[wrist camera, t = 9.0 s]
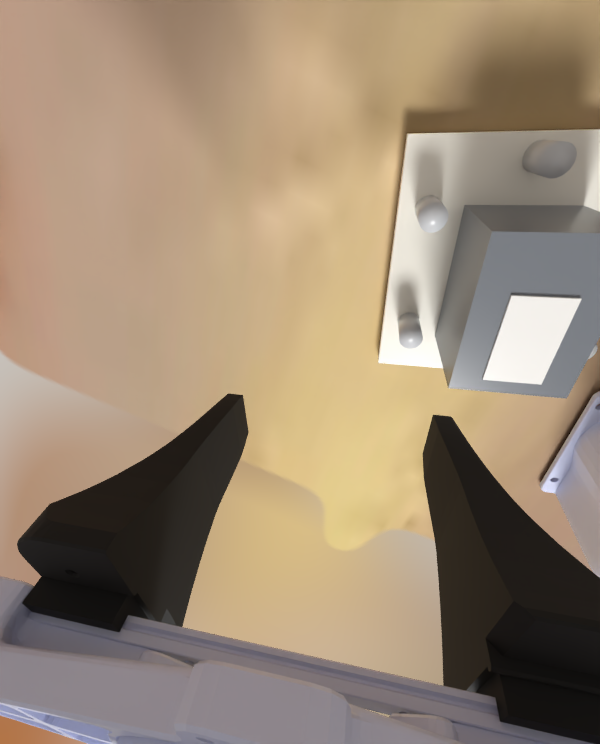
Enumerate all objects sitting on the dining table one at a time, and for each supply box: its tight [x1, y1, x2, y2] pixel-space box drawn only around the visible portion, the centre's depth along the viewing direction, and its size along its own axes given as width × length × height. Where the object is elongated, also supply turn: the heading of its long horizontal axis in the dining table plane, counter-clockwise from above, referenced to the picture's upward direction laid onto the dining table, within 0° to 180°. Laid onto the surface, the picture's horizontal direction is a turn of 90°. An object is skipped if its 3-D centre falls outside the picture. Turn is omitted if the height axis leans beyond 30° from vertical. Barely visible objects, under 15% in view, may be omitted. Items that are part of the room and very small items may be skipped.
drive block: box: [435, 205, 600, 398], centre depth 16 cm, size 7×5×5 cm
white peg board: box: [378, 129, 600, 368], centre depth 17 cm, size 12×11×3 cm
